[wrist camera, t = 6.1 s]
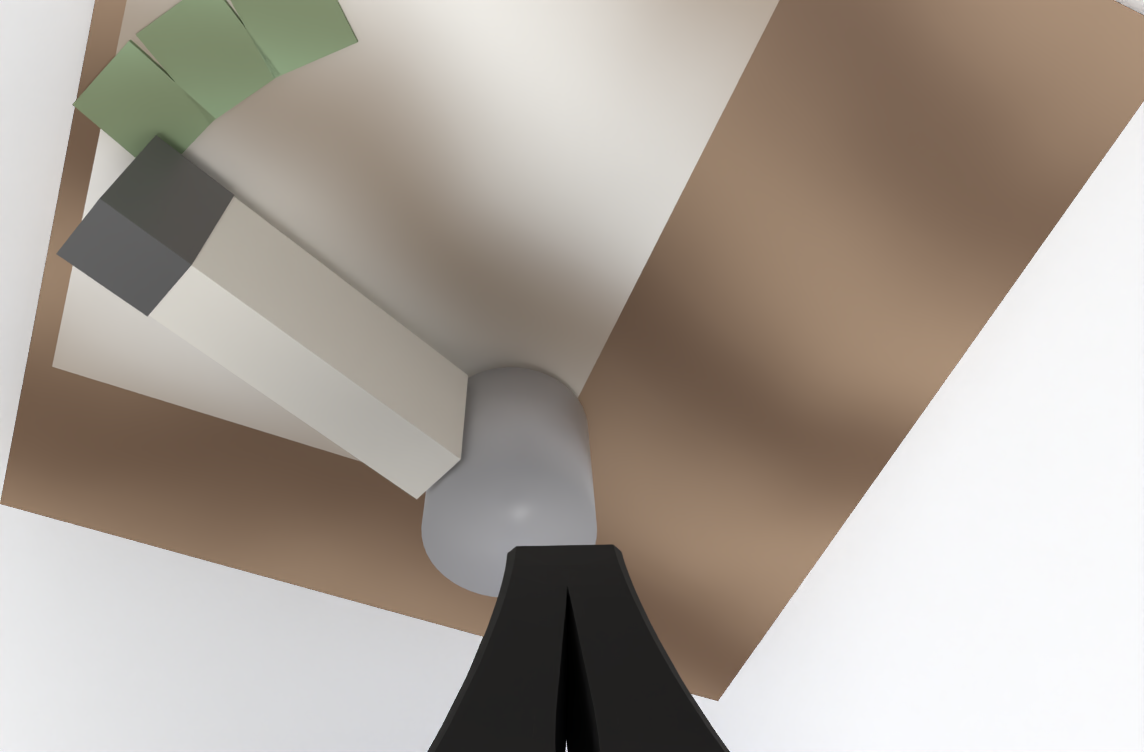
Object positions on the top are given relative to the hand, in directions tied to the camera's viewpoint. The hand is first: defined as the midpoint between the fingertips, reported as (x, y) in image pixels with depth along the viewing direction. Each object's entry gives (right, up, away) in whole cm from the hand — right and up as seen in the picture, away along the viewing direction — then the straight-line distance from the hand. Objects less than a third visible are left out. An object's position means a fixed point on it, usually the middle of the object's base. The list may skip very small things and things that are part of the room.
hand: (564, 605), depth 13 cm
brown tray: (-1, +5, +8) cm, 10 cm away
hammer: (-4, +4, +7) cm, 9 cm away
